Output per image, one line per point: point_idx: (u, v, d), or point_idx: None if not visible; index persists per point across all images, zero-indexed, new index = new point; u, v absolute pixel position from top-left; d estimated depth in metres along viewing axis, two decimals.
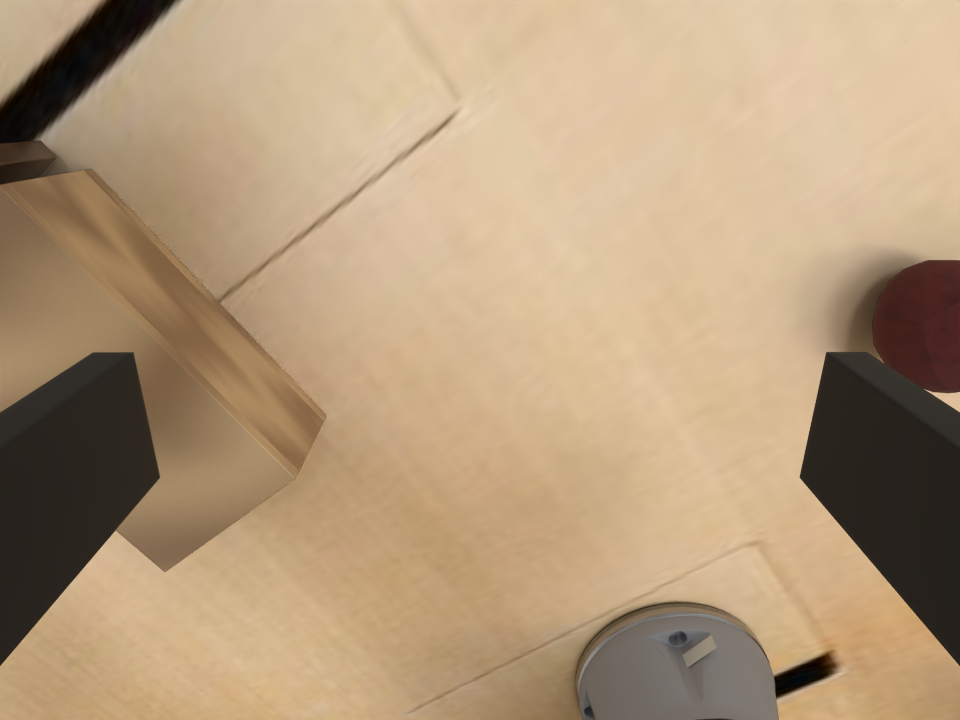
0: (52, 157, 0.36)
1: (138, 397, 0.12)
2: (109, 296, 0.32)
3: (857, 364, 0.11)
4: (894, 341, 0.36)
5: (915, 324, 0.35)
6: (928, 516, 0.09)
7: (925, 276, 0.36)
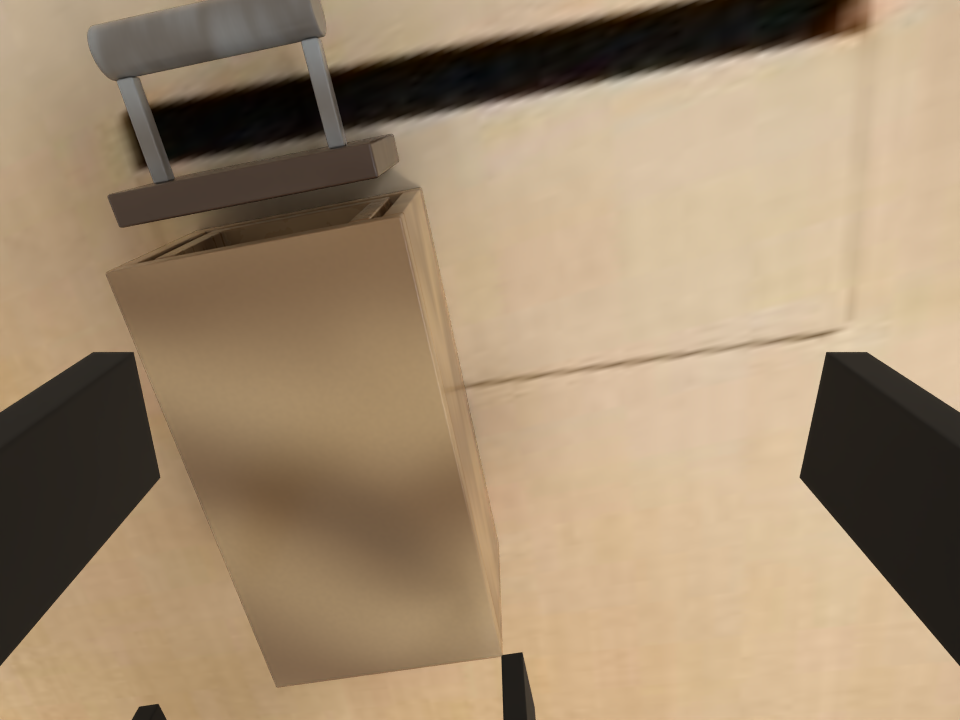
0: (398, 161, 0.28)
1: (138, 397, 0.12)
2: (440, 394, 0.25)
3: (857, 364, 0.11)
4: None
5: None
6: (928, 516, 0.09)
7: None
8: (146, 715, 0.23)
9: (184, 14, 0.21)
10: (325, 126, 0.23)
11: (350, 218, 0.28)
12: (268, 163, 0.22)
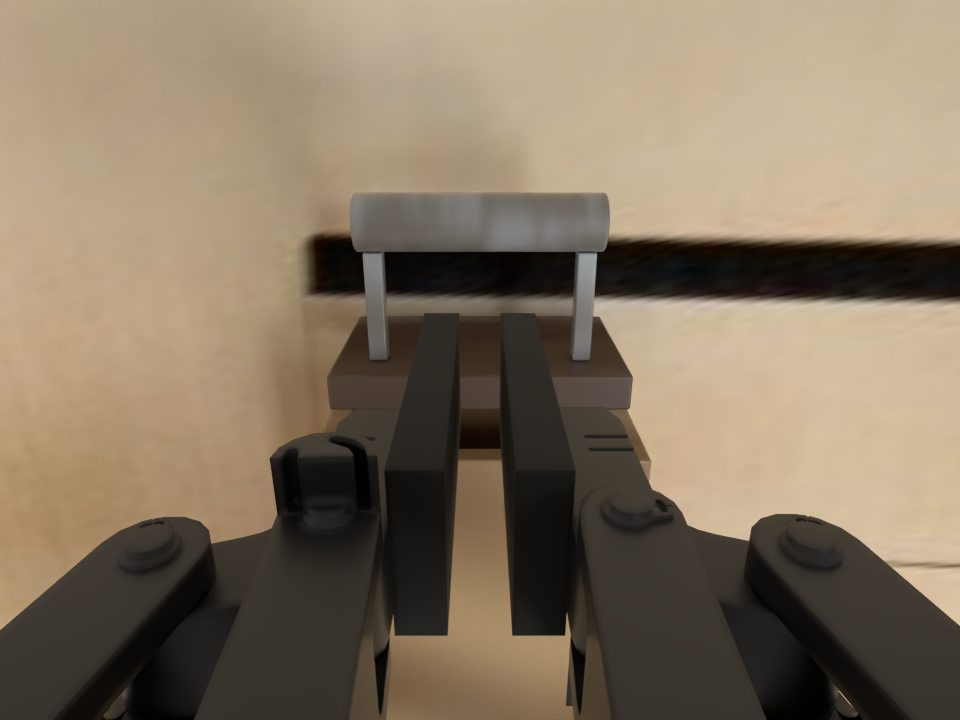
0: None
1: (459, 351, 0.14)
2: None
3: (513, 322, 0.14)
4: None
5: None
6: (505, 437, 0.11)
7: None
8: None
9: (466, 209, 0.19)
10: (575, 338, 0.21)
11: None
12: None
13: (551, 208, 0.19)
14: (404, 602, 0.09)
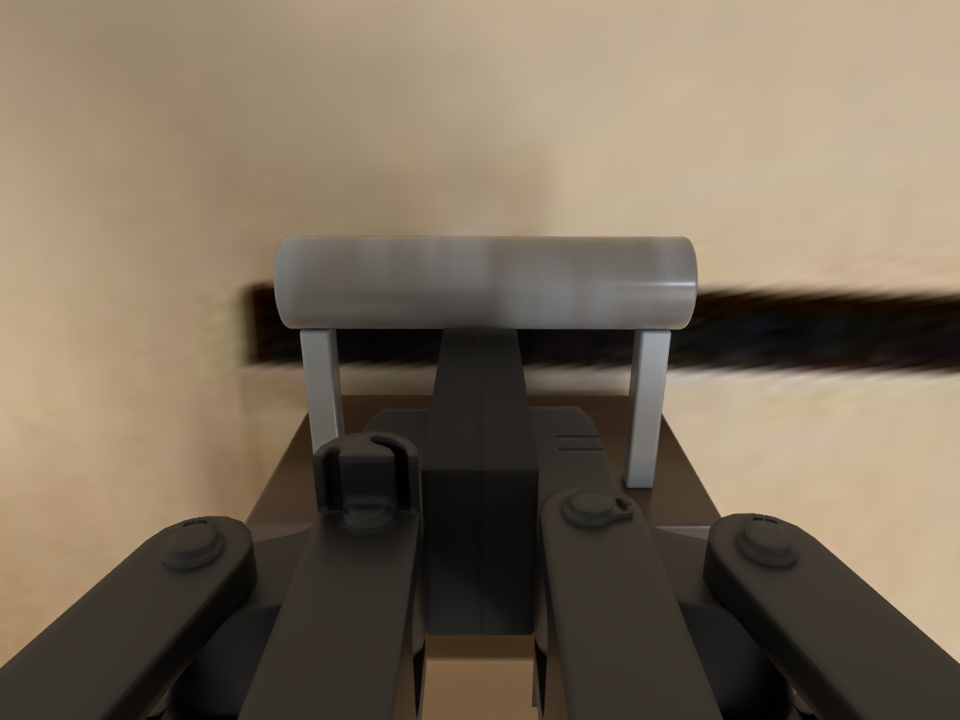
0: None
1: None
2: None
3: None
4: None
5: None
6: None
7: None
8: None
9: (463, 265, 0.12)
10: (633, 457, 0.14)
11: None
12: None
13: (603, 265, 0.12)
14: (437, 602, 0.09)
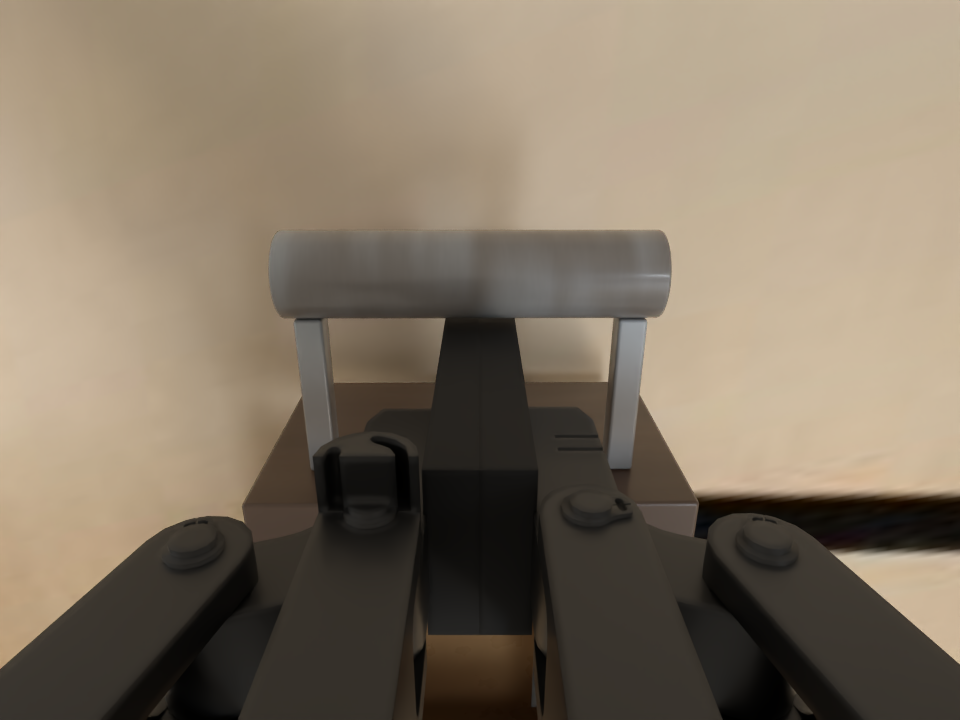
0: None
1: None
2: None
3: (491, 322, 0.14)
4: None
5: None
6: None
7: None
8: None
9: (449, 258, 0.12)
10: (612, 439, 0.14)
11: None
12: None
13: (582, 257, 0.12)
14: (438, 602, 0.09)
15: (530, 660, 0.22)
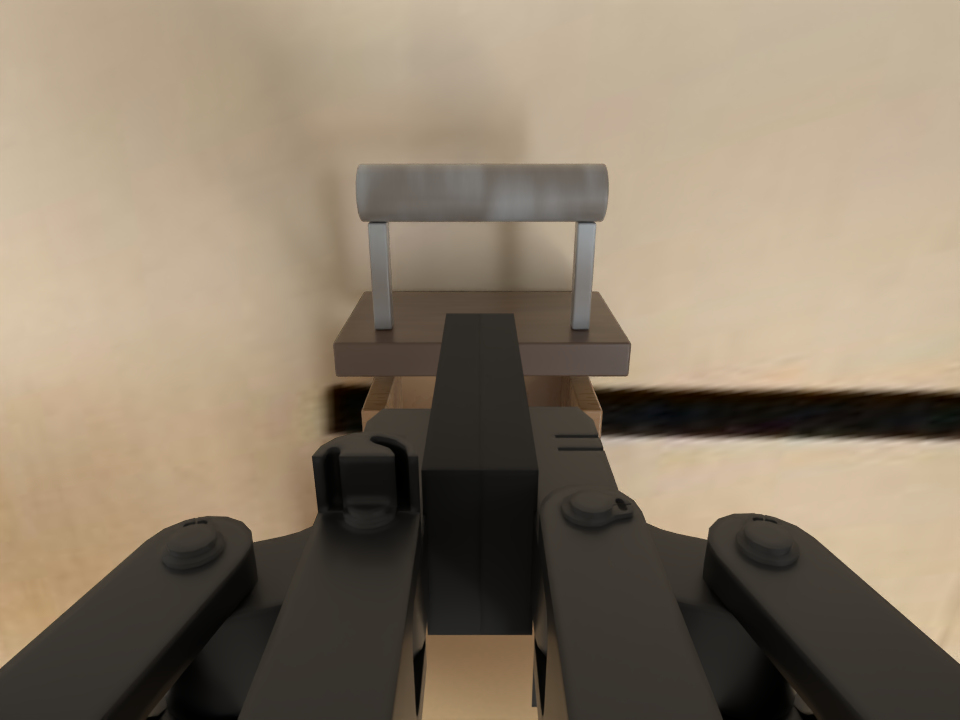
0: None
1: None
2: None
3: (492, 321, 0.14)
4: None
5: None
6: None
7: None
8: None
9: (468, 178, 0.20)
10: (575, 308, 0.22)
11: None
12: None
13: (552, 178, 0.20)
14: (438, 602, 0.09)
15: None
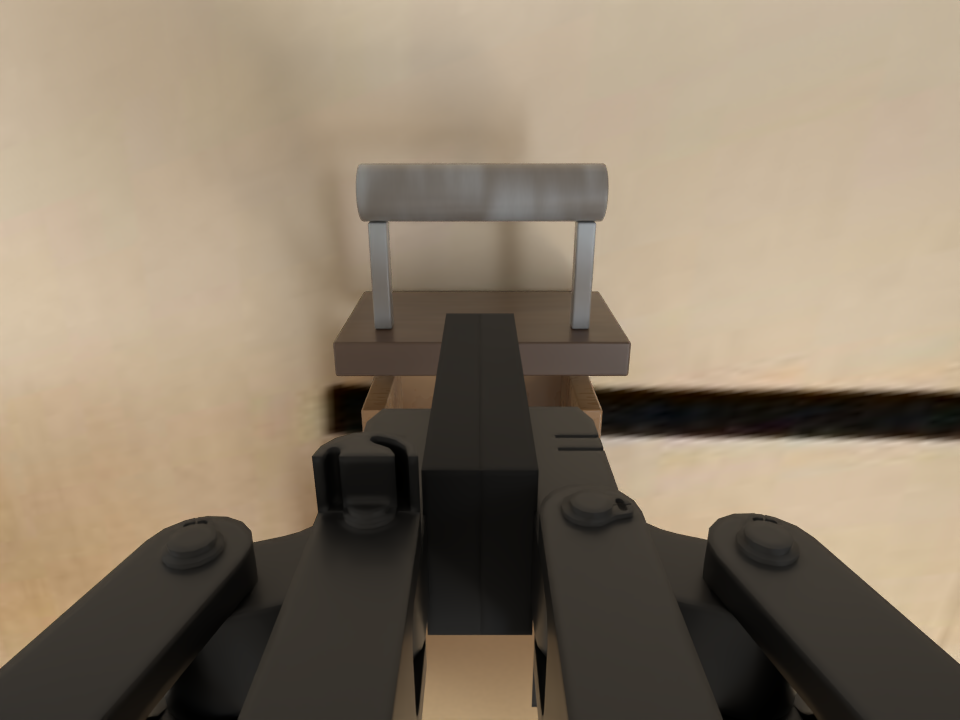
0: None
1: None
2: None
3: (492, 321, 0.14)
4: None
5: None
6: None
7: None
8: None
9: (468, 178, 0.20)
10: (575, 307, 0.22)
11: None
12: None
13: (552, 178, 0.20)
14: (438, 602, 0.09)
15: None
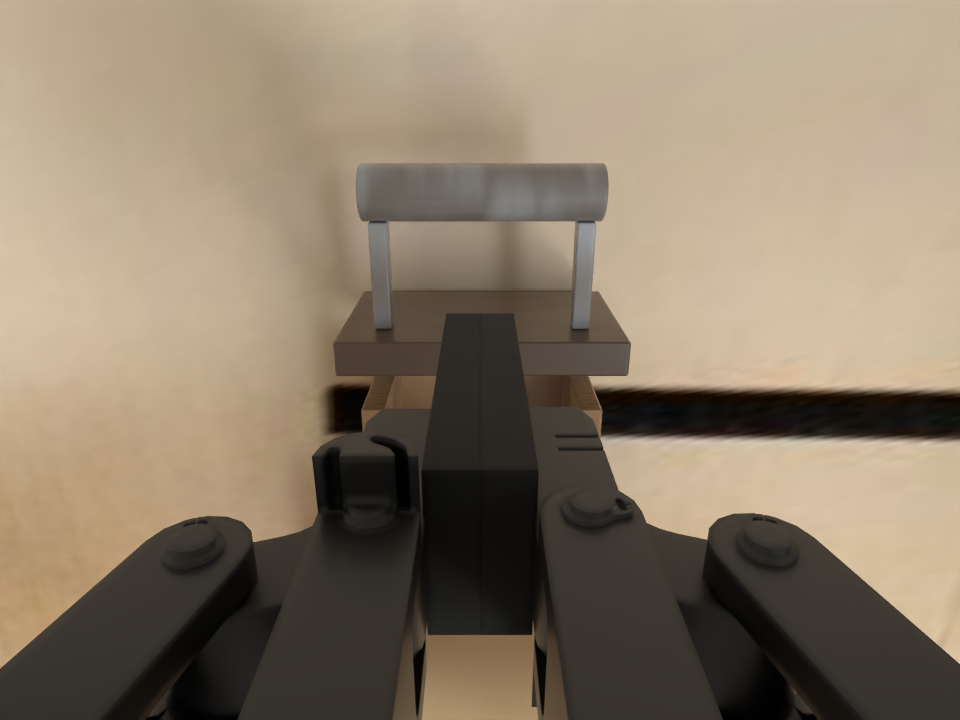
0: None
1: None
2: None
3: (492, 321, 0.14)
4: None
5: None
6: None
7: None
8: None
9: (468, 178, 0.20)
10: (575, 307, 0.22)
11: None
12: None
13: (552, 178, 0.20)
14: (438, 602, 0.09)
15: None
